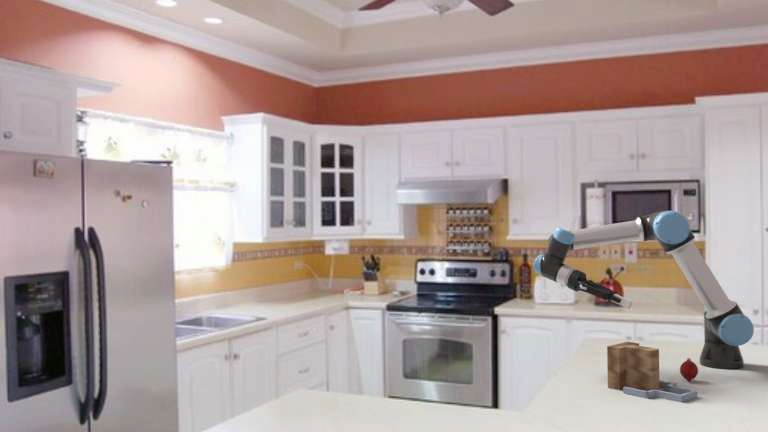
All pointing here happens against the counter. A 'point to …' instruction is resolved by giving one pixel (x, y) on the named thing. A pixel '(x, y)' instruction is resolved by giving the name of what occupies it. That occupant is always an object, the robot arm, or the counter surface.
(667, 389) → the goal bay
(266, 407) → the counter surface
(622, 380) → the tee block
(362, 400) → the counter surface
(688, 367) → the onion
